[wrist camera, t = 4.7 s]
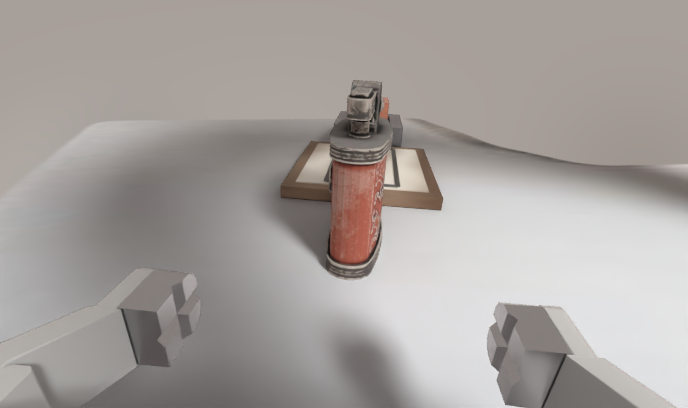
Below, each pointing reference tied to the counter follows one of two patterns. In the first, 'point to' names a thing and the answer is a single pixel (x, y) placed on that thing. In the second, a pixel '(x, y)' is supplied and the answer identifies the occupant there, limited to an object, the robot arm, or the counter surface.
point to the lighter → (357, 183)
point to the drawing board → (399, 184)
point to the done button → (385, 109)
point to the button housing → (393, 120)
